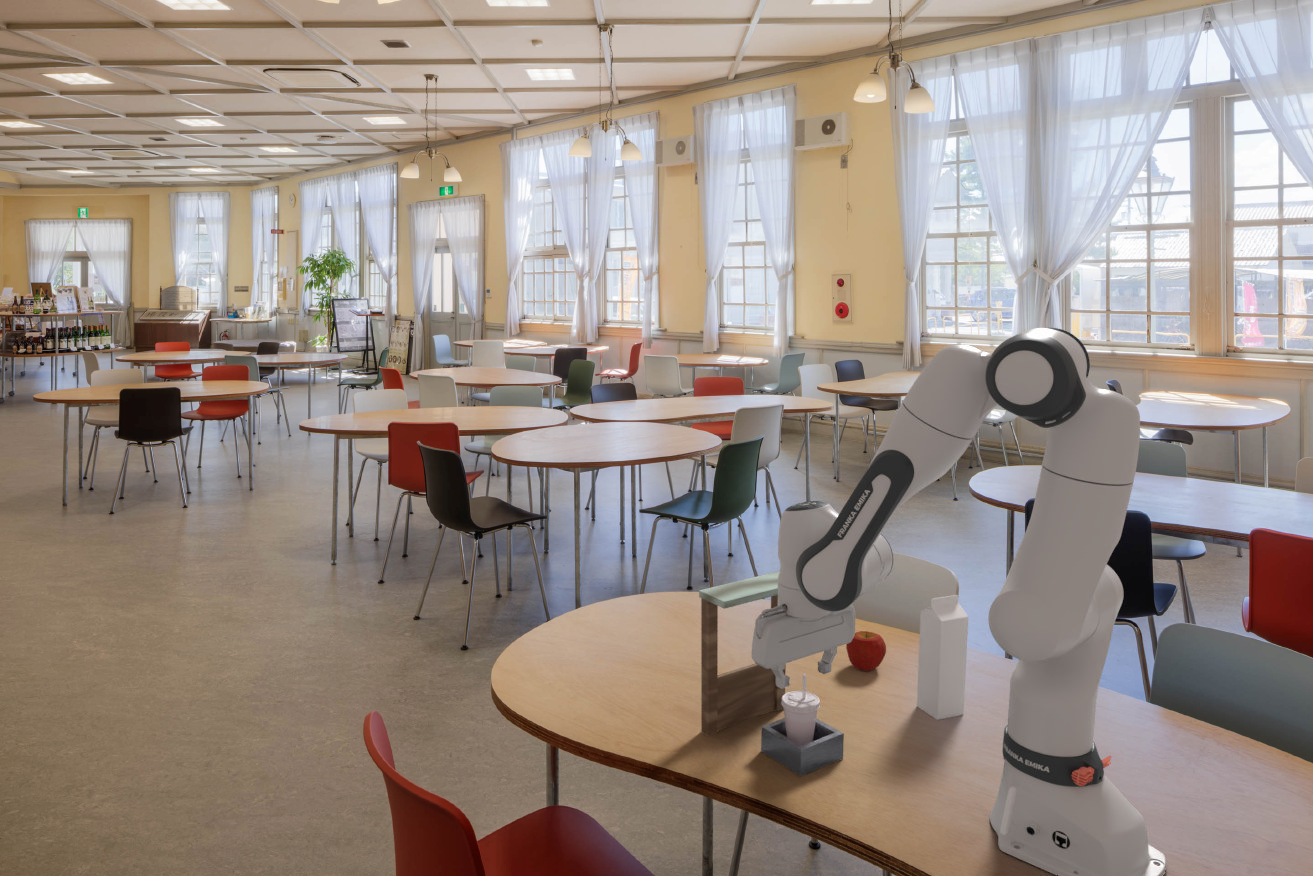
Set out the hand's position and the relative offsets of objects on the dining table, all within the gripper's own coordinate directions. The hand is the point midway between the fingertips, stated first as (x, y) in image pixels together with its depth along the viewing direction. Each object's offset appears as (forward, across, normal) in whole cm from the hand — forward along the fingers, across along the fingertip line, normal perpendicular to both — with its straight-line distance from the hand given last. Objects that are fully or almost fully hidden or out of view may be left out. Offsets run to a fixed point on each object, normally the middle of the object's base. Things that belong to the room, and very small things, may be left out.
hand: (803, 679), depth 144 cm
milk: (+14, +32, -3) cm, 35 cm away
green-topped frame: (+13, 0, +12) cm, 18 cm away
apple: (+14, +35, +18) cm, 42 cm away
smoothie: (+14, 0, +1) cm, 14 cm away
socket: (+14, 0, 0) cm, 14 cm away
